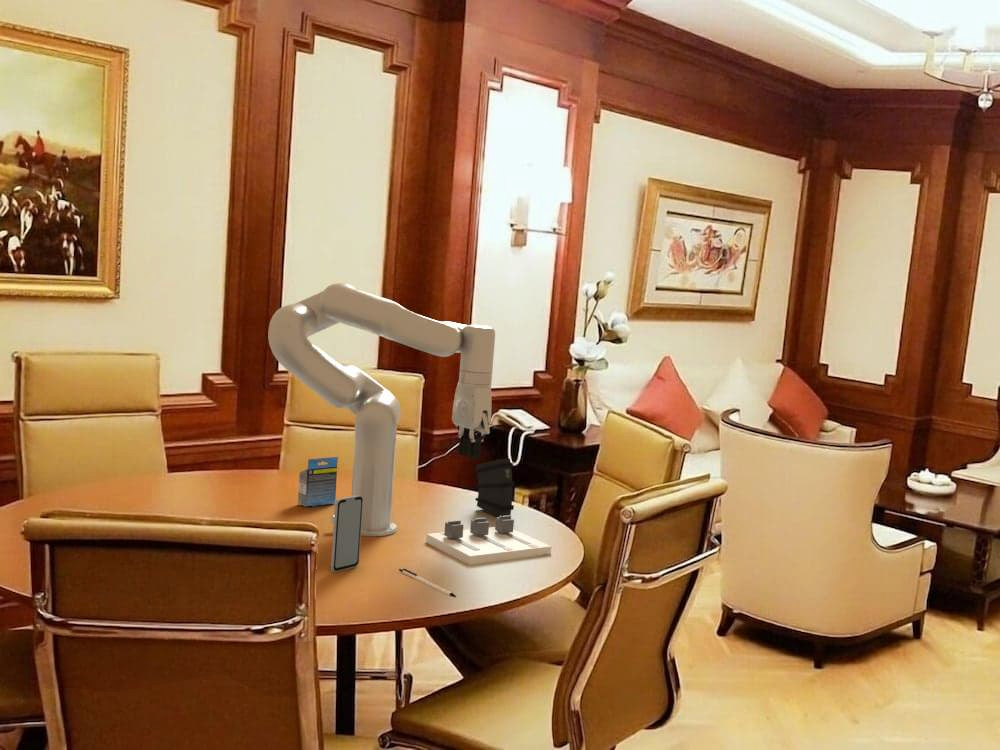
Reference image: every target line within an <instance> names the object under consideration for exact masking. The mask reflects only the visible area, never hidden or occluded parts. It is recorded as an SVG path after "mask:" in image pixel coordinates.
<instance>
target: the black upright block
mask: <svg viewBox="0 0 1000 750" xmlns="http://www.w3.org/2000/svg"><path fill="white" fill-rule="evenodd" d="M475 466H476V469H474V472H475V473H477V479H478V484H475V486H476V487H475V488H477V489H478V491H477V492H478V494H477V497H475V498H474V499H475V501H476V502H477V503H476V506H477V508H479V509H481V510H483V511H485V512H486V513H488V514H490V515H492V516H494V517H495V518H496V517H499V516H507V515H510V516H511V517H512V515H511V514H512V511H513V510H514V508H515V506H514V504H513V487H515V485H516V484H515V482H514V481H513V471H512V467H513V466H514V463H513V462H511V458H510V457H509V458H499V459H495V460H492V461H491V460H490V461H487V462H483V463H479V464H476V465H475Z"/></svg>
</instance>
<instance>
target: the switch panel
mask: <svg viewBox="0 0 1000 750" xmlns="http://www.w3.org/2000/svg"><path fill="white" fill-rule="evenodd" d="M444 532H445V531H443V532H441V531H439V532H434V533H426V538H425V539H426V540H425V543H426V544H428V545H430V546H433V547H434V548H436V549H438V550H440V551H442V552H444V553H446V554H447V555H450V556H452V557H454V558H456V559H457V560H459V561H461V562H463V563H465V564H467V565H469V566H470V565H479V564H483V563H485V564H486V563H493V562H500V561H501V562H502V561H508V560H516V559H523V558H529V557H530V556H532V557H536V556H535V555H539V556H543V555H542V554H547V555H551V554H552V545H550V544H547V543H545V542H542V541H541V540H537V539H535V538H534V537H532V536H529V535H527V534H524V533H523V532H521V531H518V530H516V529H514V528H513V532H510V533H501V532H498V531H496V530H495V526H492V527H491V526H489V531H488V535H482V536H476V535H474V534H472V533H470V529H463V538H454V539H451V538H449V537H447V536H445V535H444ZM530 558H531V557H530Z"/></svg>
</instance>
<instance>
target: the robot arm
mask: <svg viewBox="0 0 1000 750" xmlns="http://www.w3.org/2000/svg"><path fill="white" fill-rule="evenodd" d="M338 324H344V325H347V326H350V327H352V328H353V327H354V328H356V329H359V330H362V331H366V332H367V333H371V334H372V335H373V334H374V335H376V336H379V337H383V338H384V339H387V340H390V341H393V342H396V343H398V344H401V345H404V346H408V347H410V348H413V349H415V350H418V351H422V352H425V353H427V354H431V355H434V356H437V357H444V358H446V357H450V356H452V355H454V354H456V353H458V354H459V353H460V360H459V361H460V365H459V377H458V382H457V384H456V385H457V386H456V387H455V393H454V398H453V406H452V414H451V421H452V423H453V424H454V426H455V427H456V428H457V429H456V430H457V431H458V432H457V433H458V435H457V436H458V438H459V439H458V452H457V454H458V456H460V457H461V456H467V459H469V460H479V459H481V458H482V457H481V454H482V443H483V442H484V438H485V437H486V436H488V435H489V434H490V433H491V432H490V431H491V430H490V426H491V422H492V405H493V404H492V401H493V400H492V399H493V398H492V381H493V380H492V379H493V369H494V368H493V367H494V354H495V353H494V352H495V343H496V342H495V341H496V331H495V329H494V328H493V327H492V326H488V325H481V324H468V325H467V324H462V323H459V322H458V323H457V322H453V321H447V320H446V321H445V320H444V321H439V320H435V319H432V318H429V317H426V316H423V315H421V314H418V313H415V312H413V311H410V310H409V309H407V308H405V307H403V306H402V305H400V304H399V303H397V302H396V301H393V300H391V299H388V298H385V297H382V296H378V295H375V294H372V293H369V292H367V291H363V290H360V289H359V288H358V289H357V288H355V287H354V286H353V285H351V284H349V283H344V282H343V283H342V282H340V283H339V282H338V283H333V284H330V285H328V286H326V288H324V289H323V291H321V292H318V293H316V294H313V295H311V296H309V297H307V298H305V299H302V300H300V301H298V302H295V303H292V304H287V305H284V306H281V307H280V308H278V309H277V310H276V311H275V313H274V314H273V315H272V317H271V319H270V321H269V325H268V333H267V334H268V336H267V337H268V344H269V347H270V349H271V352H272V355H273V356H274V357H275V359H276V361H278V362H279V364H280V365H281V367H283V368H284V369H285V370H286V371H287V372H289V373H290V374H291V375H292V376H294V377H295V378H297V380H299V381H300V382H302V383H303V384H304V385H305V386H306V387H308V389H310V390H312V391H313V392H314V393H315V394H316V395H318V396H319V398H321V399H323V400H324V401H325V402H326V403H328V405H330V406H332V407H335V408H337V409H345V408H346V409H347V410H348V411H350V412H351V413H353V414H354V415H355V418H354V448H353V449H354V451H353V452H354V453H353V469H352V471H353V472H352V483H351V484H352V486H351V496H356V495H360V496H362V497H363V511H362V526H361V537H362V536H364V537H385V536H391V535H393V534H395V533H397V530H398V528H397V527H398V525H397V524H396V523H395V522H393V521H392V511H393V510H392V508H393V493H394V479H395V463H396V462H395V461H396V452H397V451H396V449H397V448H396V447H397V445H396V444H397V430H398V424H399V422H400V419H401V416H402V407H401V403H400V402H399V399H398V398H397V397H396V396H395V395H394V394H393V393H392V392H390V391H389V390H388V389H386V388H385V387H384V386H383V385H381V384H380V383H379V382H378V381H376V380H375V379H373V378H372V377H371V376H370V375H368V374H367V373H366V372H364V371H363V370H362V369H360V368H358V367H357V366H355V365H352V364H348V363H345V364H344V363H343V364H340V363H339V362H337V361H336V360H334V358H332V357H331V356H329V355H328V354H327V353H326V352H324V351H323V350H322V349H320V348H319V347H318V346H316V345H315V344H313V343H312V342H311V341H310V340H309V338H308V337H311V336H313V335H315V334H317V333H319V332H322V331H324V330H326V329H328V328H331V327H333V326H335V325H338ZM476 432H477V433H476ZM330 523H331V524H333V525H334V515H331V516H330Z"/></svg>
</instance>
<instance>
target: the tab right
mask: <svg viewBox="0 0 1000 750" xmlns="http://www.w3.org/2000/svg"><path fill="white" fill-rule="evenodd" d="M514 525H515V519H513V518H512V515H511V516H510V515H507V516H499V517H495V526H494V527H495V530H496V531H498V532H501V533H510V532H513V529H514Z"/></svg>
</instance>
